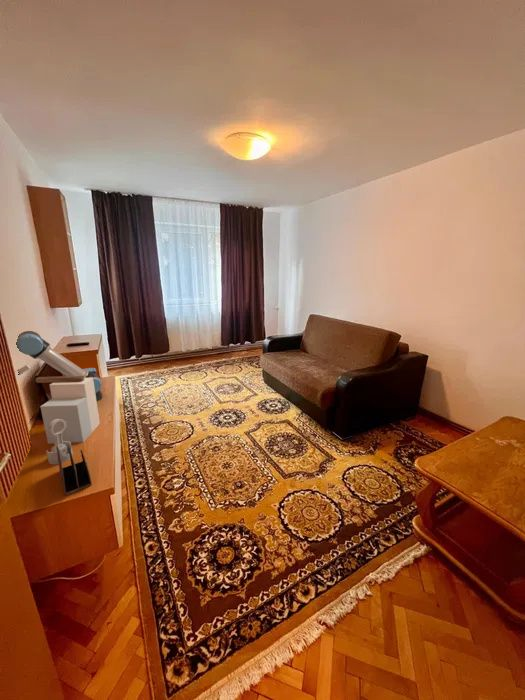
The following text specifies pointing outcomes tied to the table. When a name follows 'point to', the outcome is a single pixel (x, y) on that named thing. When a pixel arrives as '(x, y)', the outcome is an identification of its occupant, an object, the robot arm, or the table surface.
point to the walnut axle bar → (60, 379)
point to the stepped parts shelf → (72, 410)
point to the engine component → (58, 444)
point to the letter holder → (74, 474)
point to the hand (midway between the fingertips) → (20, 370)
